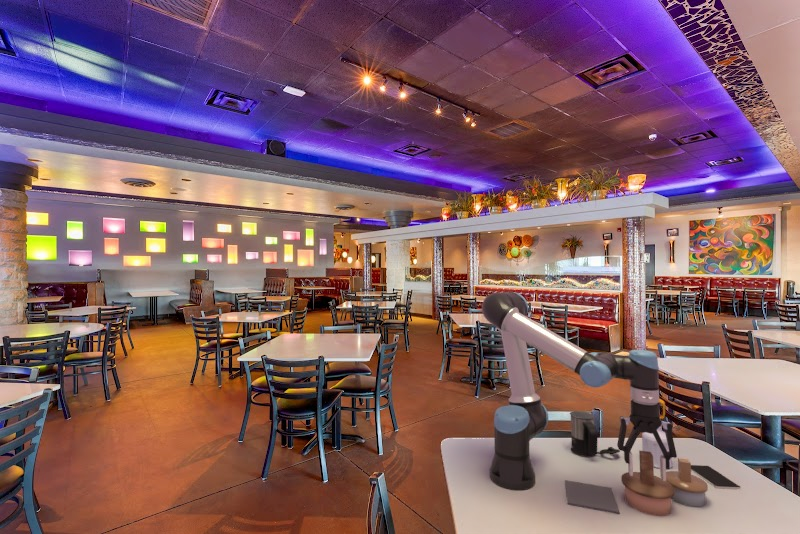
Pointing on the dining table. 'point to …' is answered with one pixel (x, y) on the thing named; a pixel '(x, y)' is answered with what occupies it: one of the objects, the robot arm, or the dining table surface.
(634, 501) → the terracotta bowl
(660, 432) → the soap bottle
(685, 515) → the dining table surface
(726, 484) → the smartphone
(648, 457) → the walnut lid
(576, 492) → the rubber mat
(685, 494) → the slate bowl covered
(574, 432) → the milk frother
